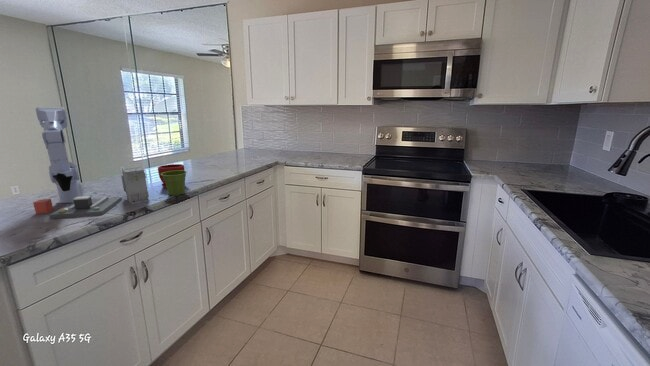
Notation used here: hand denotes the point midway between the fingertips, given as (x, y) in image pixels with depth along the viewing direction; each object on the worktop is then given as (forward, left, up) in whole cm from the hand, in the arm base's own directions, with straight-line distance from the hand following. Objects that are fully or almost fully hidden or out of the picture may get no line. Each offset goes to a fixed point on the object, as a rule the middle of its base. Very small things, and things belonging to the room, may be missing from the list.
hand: (66, 190), depth 123 cm
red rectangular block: (+1, -8, -8) cm, 12 cm away
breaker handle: (+5, +7, -7) cm, 11 cm away
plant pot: (-14, +40, -9) cm, 43 cm away
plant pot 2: (-31, +35, -9) cm, 47 cm away
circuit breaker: (-10, +22, -9) cm, 26 cm away
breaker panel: (+1, +7, -8) cm, 11 cm away
